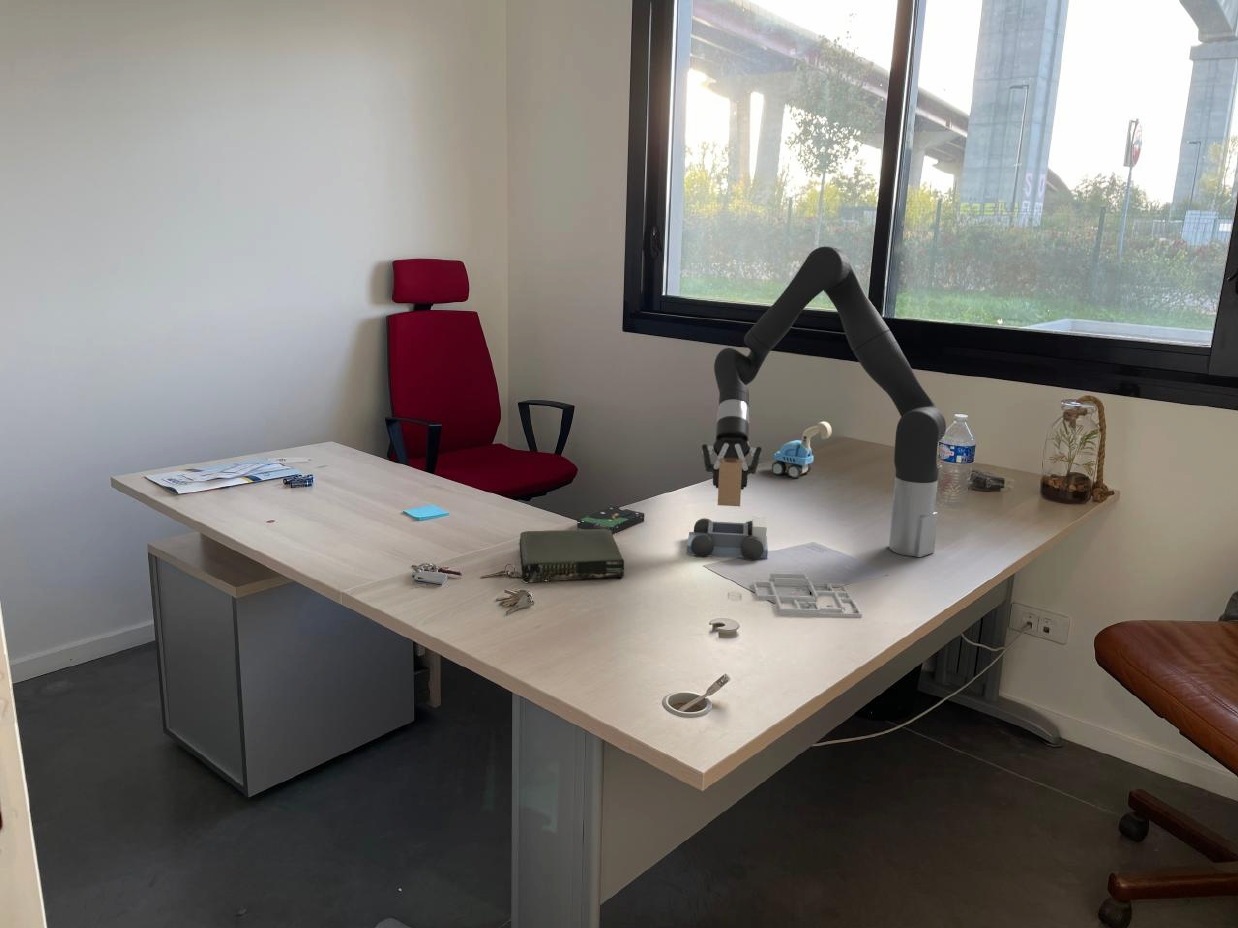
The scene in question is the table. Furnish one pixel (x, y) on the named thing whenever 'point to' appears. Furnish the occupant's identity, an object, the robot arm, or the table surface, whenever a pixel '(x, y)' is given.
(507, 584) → the table surface
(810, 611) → the floor plan model
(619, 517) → the disk drive
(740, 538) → the chassis
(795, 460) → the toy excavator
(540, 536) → the network switch
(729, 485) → the brown rectangular block
